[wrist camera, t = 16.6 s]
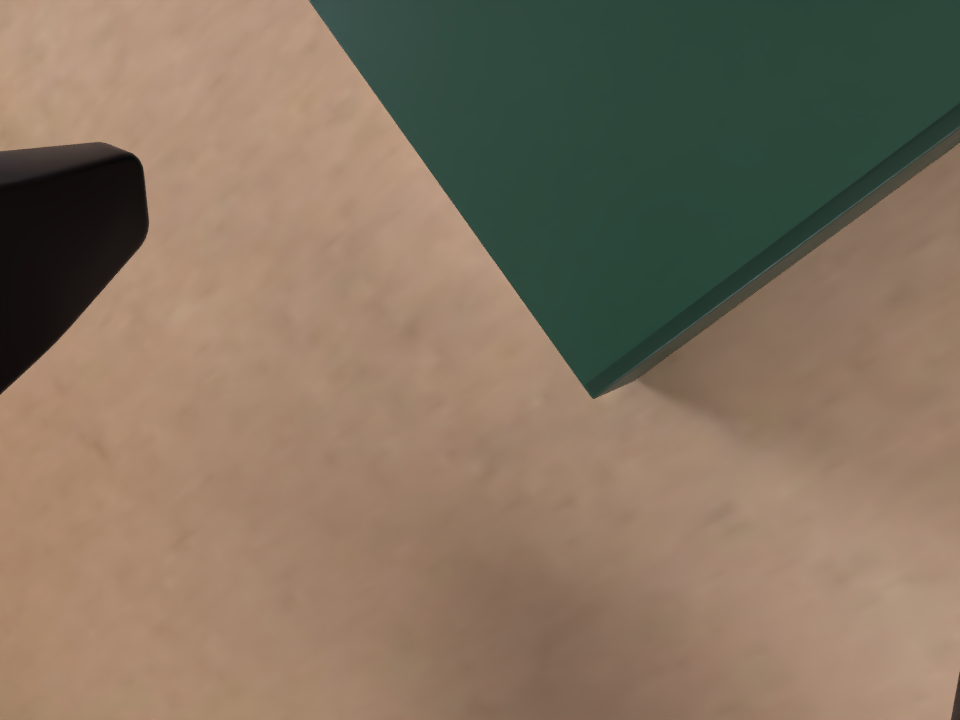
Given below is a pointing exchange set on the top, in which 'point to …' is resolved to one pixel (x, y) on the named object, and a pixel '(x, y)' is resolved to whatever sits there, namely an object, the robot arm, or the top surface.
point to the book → (657, 143)
